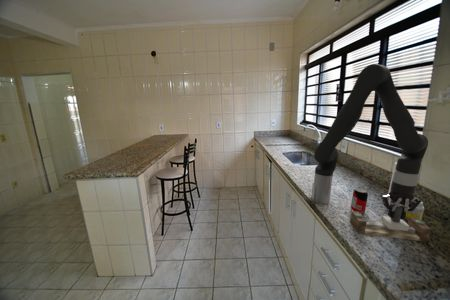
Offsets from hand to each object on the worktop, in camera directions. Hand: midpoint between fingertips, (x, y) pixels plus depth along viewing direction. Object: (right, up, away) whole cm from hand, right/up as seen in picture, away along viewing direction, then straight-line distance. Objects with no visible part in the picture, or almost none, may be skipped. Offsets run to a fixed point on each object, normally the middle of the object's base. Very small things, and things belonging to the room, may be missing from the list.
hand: (395, 217), depth 83 cm
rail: (-2, -7, +2) cm, 8 cm away
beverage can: (-4, -3, +18) cm, 19 cm away
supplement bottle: (+17, -5, +10) cm, 20 cm away
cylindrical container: (+18, -2, +21) cm, 27 cm away
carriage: (0, -4, +1) cm, 4 cm away
